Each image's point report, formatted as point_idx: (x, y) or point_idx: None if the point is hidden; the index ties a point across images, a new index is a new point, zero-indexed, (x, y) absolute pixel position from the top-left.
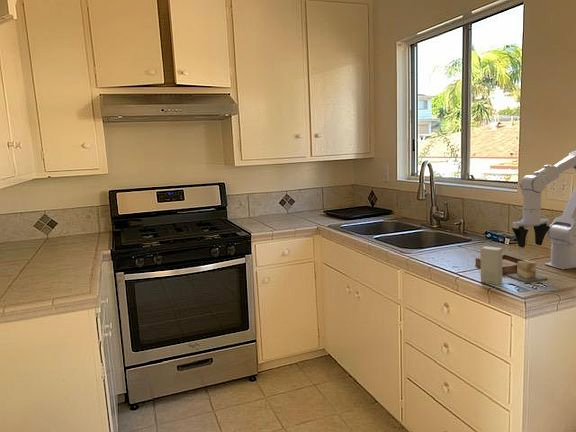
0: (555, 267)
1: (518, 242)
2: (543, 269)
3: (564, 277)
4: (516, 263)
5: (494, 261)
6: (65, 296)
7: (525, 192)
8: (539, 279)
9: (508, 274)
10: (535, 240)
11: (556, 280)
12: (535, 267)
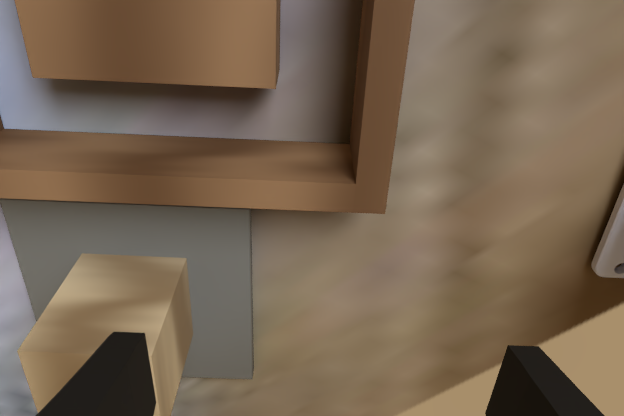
0: (614, 208)
1: (67, 401)
2: (481, 187)
3: (404, 377)
4: (267, 62)
5: None
6: None
7: None
8: None
9: (19, 209)
10: (537, 400)
11: (296, 394)
12: (171, 400)
